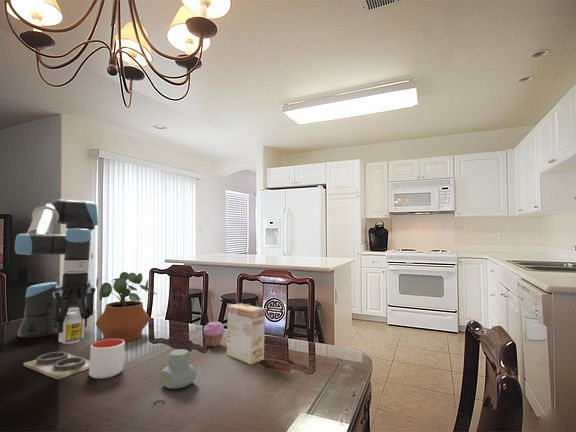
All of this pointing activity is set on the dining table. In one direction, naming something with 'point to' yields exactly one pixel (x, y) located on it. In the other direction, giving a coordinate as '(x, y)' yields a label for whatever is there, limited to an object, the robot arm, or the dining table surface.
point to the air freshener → (178, 370)
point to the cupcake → (213, 333)
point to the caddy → (58, 364)
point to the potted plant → (123, 309)
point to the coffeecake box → (246, 332)
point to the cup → (106, 358)
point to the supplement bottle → (73, 327)
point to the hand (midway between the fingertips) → (71, 339)
